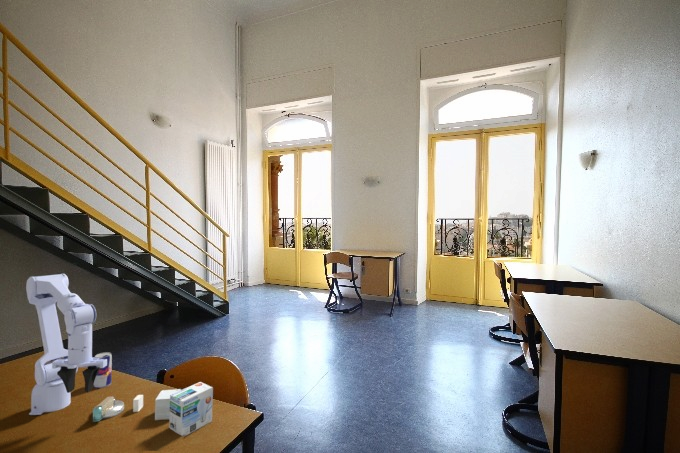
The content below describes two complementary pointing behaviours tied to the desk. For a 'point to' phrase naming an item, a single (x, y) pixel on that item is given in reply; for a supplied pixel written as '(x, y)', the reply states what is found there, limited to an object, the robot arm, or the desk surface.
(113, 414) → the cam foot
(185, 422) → the light bulb box
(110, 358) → the energy drink
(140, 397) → the white rectangular box
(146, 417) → the desk surface
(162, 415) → the product box
